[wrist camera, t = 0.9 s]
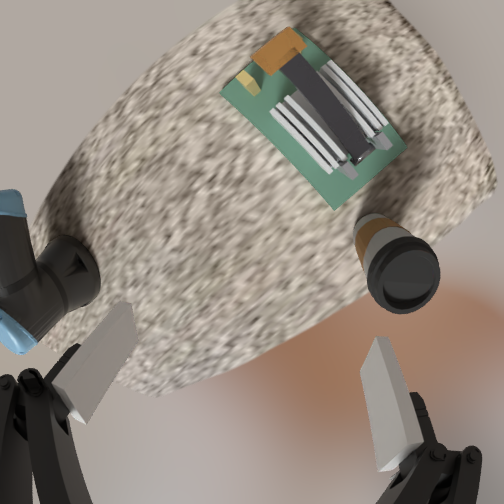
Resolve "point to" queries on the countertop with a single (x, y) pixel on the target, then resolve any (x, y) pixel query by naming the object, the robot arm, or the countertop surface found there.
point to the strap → (312, 90)
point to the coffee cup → (395, 264)
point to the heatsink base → (315, 125)
